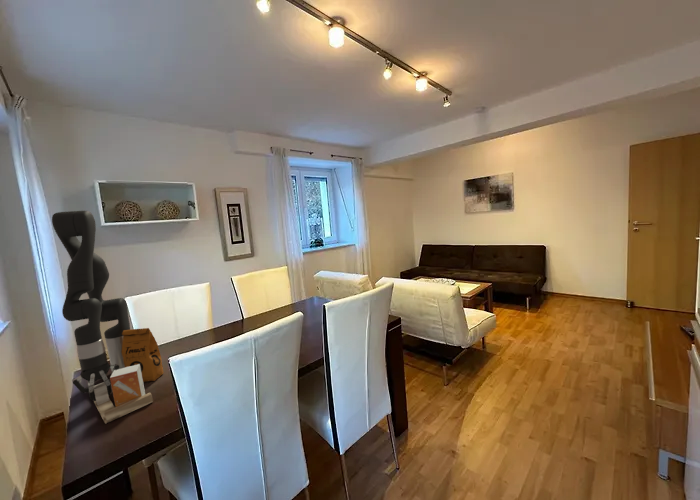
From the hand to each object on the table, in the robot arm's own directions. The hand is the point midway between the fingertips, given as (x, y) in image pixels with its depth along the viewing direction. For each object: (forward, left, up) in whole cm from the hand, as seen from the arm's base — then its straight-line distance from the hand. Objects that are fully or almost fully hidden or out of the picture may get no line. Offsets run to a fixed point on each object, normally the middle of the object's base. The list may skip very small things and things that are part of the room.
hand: (101, 397), depth 114 cm
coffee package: (-7, +16, -3) cm, 18 cm away
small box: (+10, +7, -3) cm, 12 cm away
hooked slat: (+1, +5, -2) cm, 6 cm away
